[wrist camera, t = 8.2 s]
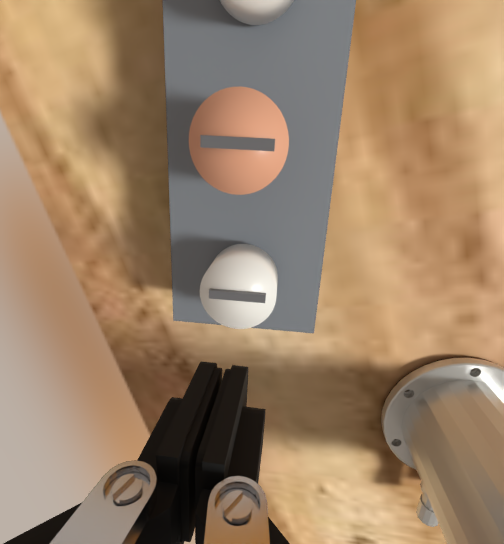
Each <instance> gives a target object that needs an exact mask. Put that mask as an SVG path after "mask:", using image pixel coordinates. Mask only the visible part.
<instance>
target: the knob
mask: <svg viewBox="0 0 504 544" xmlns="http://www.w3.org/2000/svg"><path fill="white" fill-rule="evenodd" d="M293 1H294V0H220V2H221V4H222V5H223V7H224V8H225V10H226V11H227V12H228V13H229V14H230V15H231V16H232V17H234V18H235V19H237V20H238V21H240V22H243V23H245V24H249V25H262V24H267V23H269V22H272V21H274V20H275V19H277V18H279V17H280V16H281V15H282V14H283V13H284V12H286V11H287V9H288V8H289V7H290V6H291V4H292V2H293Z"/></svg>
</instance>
